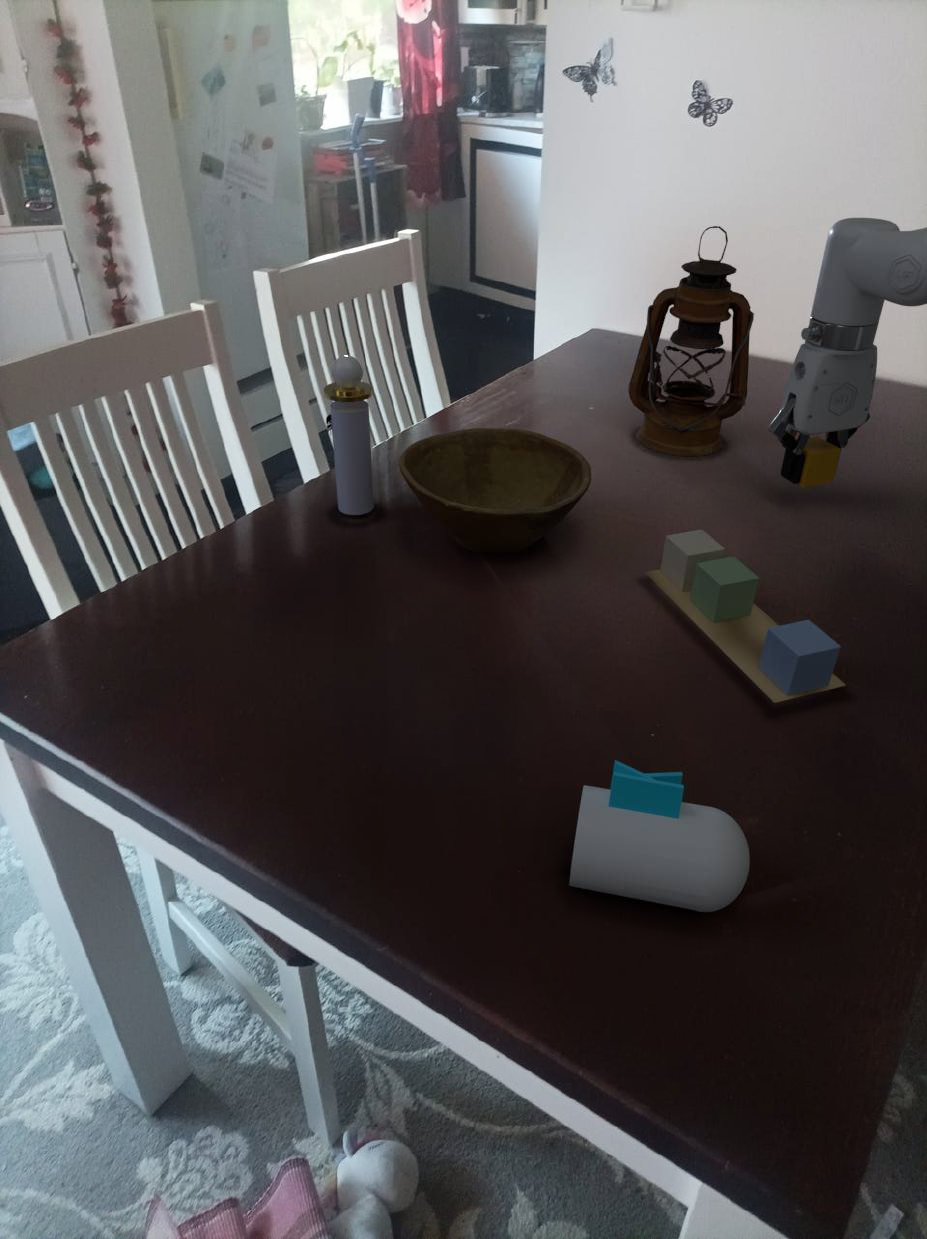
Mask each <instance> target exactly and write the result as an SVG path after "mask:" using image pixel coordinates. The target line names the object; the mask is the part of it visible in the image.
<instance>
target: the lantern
mask: <svg viewBox="0 0 927 1239" xmlns="http://www.w3.org/2000/svg"><path fill="white" fill-rule="evenodd" d="M710 229H719V230H720V231H722V232H723V233H724V234H725V235H724V236H725V245H724V249H723V251H722V253H721V257H720V258H719V259H718V260H717V259H715V260H714V259H704V258H703V257H702V256H701V253H700V252H701V244H702V239H703V236H704V235H705V232H707V231H709V230H710ZM728 238H729V237H728V233H727V230H725V229H724V228H722V227H721V226H720V225H719V226H718V225H714V226H708V227H707V228H705V229H704V230H703V232H702V234H701V236H700V237H699V245H698V250H697V251H698V252H697V256H698V260H692V261H689V262H685V263H683V264H682V265H681V266H680V268H682V270H683V271H684V272H686V273H687V274H689V275H688V276H684V277H682V278H680V279H679V284H678V286H676V287H668V288H664V289H663V290H662V291H660V292H659V293H657V295H656V296H655V298H654V299H653V302H652V304H650V305H649V306H648V307H647V312H646V325H645V330H644V332H643V336H642V340H641V342H640V345H639V348H638V353H637V356H636V359H635V364H634V368H633V371H632V374H631V378H630V380H629V384H628V395H629V400H630V401H631V403H632V405H633V406H634V407H635V408H636V409H638V410H639V411H640V412H641V413H643V421H642V425H641V426H640V427H639V428H638V429H637V430H636V433H635V437H636V440H637V441H638V443H639V444H640V445H642V446H644V447H645V448H647V449H649V450H652V451H653V452H655V453H661V454H664V455H668V456H669V455H670V456H677V457H687V458H689V457H700V456H701V457H702V456H709V455H710V454H711V455H712V454H715V453H717V452H719V451H720V450H721V449H722V448H723V446H724V441H723V437H722V435H721V428H722V423H723V420H726V419H728V418H731V417H733V416H735V415H736V414H737V413H739V412H740V411H741V410H742V408H743V406H746V399H747V396H748V382H749V379H748V378H749V360H750V359H749V358H750V335H751V329H752V327H753V323H754V319H755V313H754V312H753V311H751V305H750V303H749V300H748V299H747V298H746V296H745V294H743V293H739V292H737V291H733V290H732V283H731V282H730V281H728V280H727V277H728V276H731V275H734V274H737V270H738V269H737V268H736V267H735V266H732V265H731V264H729V263H726V262H722V260H723V259H724V256H725V252H726V250H727V246H728V242H729V239H728ZM730 310H732V314H731V312H730ZM668 312H669V314H670V315H671V316H672V317H674V318H677V319H678V325H677V328H676V330H674V331H673V332H672V333H671V335H670V337H669V341H670V342H671V343H672V344H673V345H676V346H678V347H682V348H686V349H687V348H688V349H694V350H701V351H698V352H697V353H695V354H691V353H690V352H687V351H686V350H683V349H680V348H678V347H676V346H671V345H666V346H664V348H663V349H662V352H663V354H661V353H660V352H658V351H657V348H658V345H659V342H660V338H661V335H662V330H663V327H664V323H665V321H666V316H667V314H668ZM731 318H732V324H731V325H732V326H731V355H730V356H731V357H730V359H731V361H730V370H729V374H728V379H727V383H726V388H725V390H724V394H722V396H721V397H720V398H719V400H718V401H717V402H716V403H715V402H706V401H707V400H709V399H711V398H713V397H715V395H716V390H715V388H714V387H715V384H714V383H713V380H712V378H711V377H708V380H709V384H710V385H707V384H705V383H703V382H702V381H701V380H700V379H697V377H699V376H701V374H703V373H705V374H708V375H707V376H709V371H711V370H712V369H713V368H715V367H717V366H718V365H720V364H722V362H723V361H724V359H725V357H726V353H727V351H726V350H725V349H724V348H723V347H722V346H723V345H724V337H723V334H721V333H720V331H721V323H723V322H728V321H729V320H730V319H731ZM666 351H673V352H679V353H680V354H682V355H685V356H686V357H687V359H686V360H685V361H684V362H682V363H681V364H680V365H679V366H677V363H675V362H674V360H673V359H672V358H671V357H670V356H669V355H668V353H667V352H666ZM706 354H712V355H716V354H717V355H720V354H722V355H721V357H720V358H719V360H717V361H716V362H714V363H712V364H708V365H706V366H705V365H704V364H703V362H702V361H701V360H699V359H698V357H700V356H702V355H706ZM663 355H664V356H665V358H666V359H667V360H668V361H669V362H670V363H671V364H672V365H673V366H674V367H675V368H676V369H674V370H673V372H672V373H671V374H670V375H669V377H668V378H667V379H666V382H665V383H664V382H663V378H662V377H663V375H662V370H661V364H662V362H661V361H662V357H663ZM691 360H694V361H695V362H696V364H698V365H699V367H700V368H701V369H699V370H697V371H696V372H695V373H693V374H690V373H688V372H687V371H686V370H685V369H684V368H683V367H684V366H685V365H686V364H688V362H690V361H691ZM655 363H656V366H655ZM678 370H679V372H681V373H682V374H683V375H684V376H685V378H687V379H688V380H687V379H685V380H671V381H670V379H671V378H672V377H673V376H674V374H676V372H677V371H678ZM691 379H693V380H694V381H692V380H691ZM690 380H691V381H690ZM658 384H659V385H658ZM662 391H663V392H664V393H665V394H666V395H667V396H666V395H664V394H662V393H663V392H662ZM726 397H728V398H727V400H726ZM659 400H660V401H659ZM661 400H662V401H661Z"/></svg>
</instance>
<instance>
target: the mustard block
mask: <svg viewBox="0 0 927 1239" xmlns="http://www.w3.org/2000/svg"><path fill="white" fill-rule="evenodd" d="M795 439H796V441H797V439H798V438H795ZM840 452H842V448H841V449H840V448H838V447H836V446H835V445H833V444H831V443H829V442H827V441H826V439H824V438H822V437H820V436H818V435H816V436H810V437H809V439H808V441H807V444H806V446H805V448H804V450H803V452H802V453H803V454H805V455H806V456H805V461H804V466H803V470H802V474H801V479H800V482H799V483H798V484H797V485H798V486H799V487H801V488H809V487H814V486H821V485H828V484H832V483H834V480H835V476H836V473H835V472H837V469H838V465H837V464H839V461H838V460H840V457H841V453H840ZM839 456H840V457H839ZM836 468H837V469H836Z"/></svg>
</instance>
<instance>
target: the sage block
mask: <svg viewBox="0 0 927 1239" xmlns="http://www.w3.org/2000/svg"><path fill="white" fill-rule="evenodd" d="M759 583H760V577H759V576H758V575H757V574H756V573H754V572H753V571H752V570H751V569H750V568H748V567H747V566H746V565H745V564H744V563H743V562H741V561H740V560H739V559H738V558H737V557H736V556H727V557H723V558H722V559H716V560H711V561H706V562H700V563H696V568H695V573H694V578H693V584H692V589H691V594H690V601H691V602H692V603H693V604H694V605H695V606H696V607H697V608H698V609H699V610H700V611H701V612H702V613H703V614H704V615H706V616H707V617H708V618H709V619H710V620H711V621H712V622H713V623H714V622H719V621H724V620H729V619H734V618H738V617H743V616H748V615H751V611H752V607H753V603H754V604H755V598H756V594H757V591H758V586H759Z"/></svg>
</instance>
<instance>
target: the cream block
mask: <svg viewBox="0 0 927 1239" xmlns="http://www.w3.org/2000/svg"><path fill="white" fill-rule="evenodd" d="M725 551H726V548H725V547H724V546H723V545H721V544H720V543H719V542H718V541H716V540H715V539H714V538H713V537H712V536H710V534H708V533H707V532H705V530H703V529H697V530H690V531H685V532H679V533H673V534H668V535H665V538H664V545H663V552H662V557H661V563H660V571H661V572H662V573H663V574H664V575H665V576H666V577H667V578H668V579H669V580H670V581H671V582H672V583H673V584H674V585H675V586H676V587H677V588H678V589H679V590H680V591H681V592H683V591H688V590H691V589H692V584H693V578H694V573H695V568H696V563H700V562H706V561H711V560H716V559H722V558H724V555H725Z"/></svg>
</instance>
